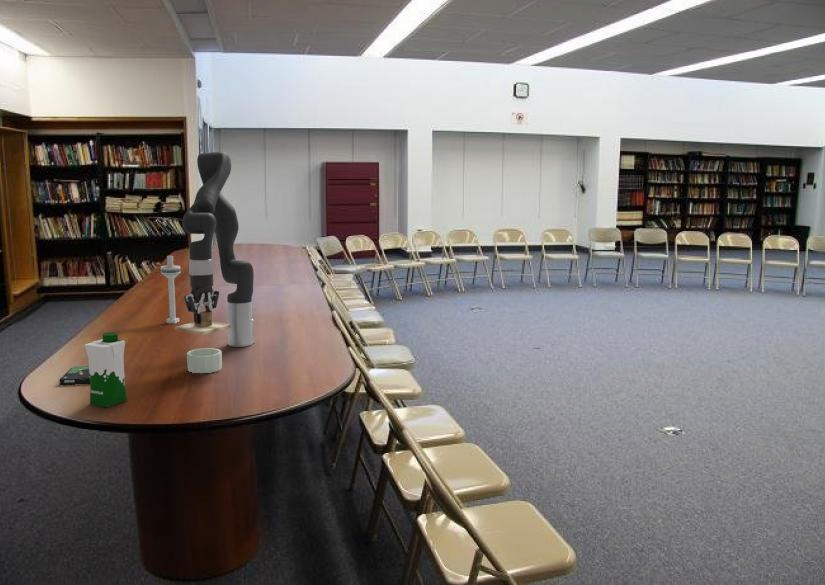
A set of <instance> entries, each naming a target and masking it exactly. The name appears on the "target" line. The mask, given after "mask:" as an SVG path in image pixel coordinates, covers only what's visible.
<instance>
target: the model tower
mask: <svg viewBox="0 0 825 585" xmlns="http://www.w3.org/2000/svg"><path fill="white" fill-rule="evenodd" d="M166 260H167V261H166V263H167V265H161V266H160V274H161V275H162V276H164V277H165V278H167V283H168V286H167V289H168V302H169V303H168V305H169V306H168V307H169V318H166V320H165V321H166V324H177V322H178V323H179V322H180V318H179V317H176V315H177V314H176V297H175V296H176V295H175V294H176V293H175V290H176V289H175V278H176V277H178V276H179V275H180V274H181V272H182V271H181V266H180V265H179V264H177V265H176V264H174V256H173V255H167V256H166Z"/></svg>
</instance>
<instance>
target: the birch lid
mask: <svg viewBox="0 0 825 585" xmlns="http://www.w3.org/2000/svg"><path fill="white" fill-rule="evenodd" d="M200 313H201V324H195V322H194V321H193V322H189V323H186V324H181V325H176V326H174V331H180V332H185V333H192V334H195V335H196V334H197V335H202V336H203V335H206V334H211V333H214V332H215V333H216V332H219V331H223V330H226V329H227V330H228V328H231V324H228V323H224V322H217V321H213V320H212V318H213V312H206V310H201V311H200Z"/></svg>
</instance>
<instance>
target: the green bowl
mask: <svg viewBox="0 0 825 585" xmlns="http://www.w3.org/2000/svg"><path fill="white" fill-rule="evenodd" d="M222 356H223V351H222V350H221V349H219V348H215V347H214V348H213V347H212V348H209V347H206V348H205V347H204V348H195V349H192V350H189V351H188V352H187V353H186V365H187V366H186V367H187V371H189V372H188V373H190V372H192V373H191V374H194V373H209V374H213V373H212V372H214V373H217V371H218V372H220V371H221V370H222V367H223V357H222ZM219 370H220V371H219Z"/></svg>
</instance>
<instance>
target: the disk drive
mask: <svg viewBox="0 0 825 585" xmlns="http://www.w3.org/2000/svg"><path fill="white" fill-rule="evenodd" d="M75 384H88V385H90V374H89V365H82V366H78V365H77V366H76V365H75V366H72V367H71V368H70V369H69V370H67V372H65V373H64V374H63V376H61V377H60V378H59V386H60V385H63V386H76V385H75Z"/></svg>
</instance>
